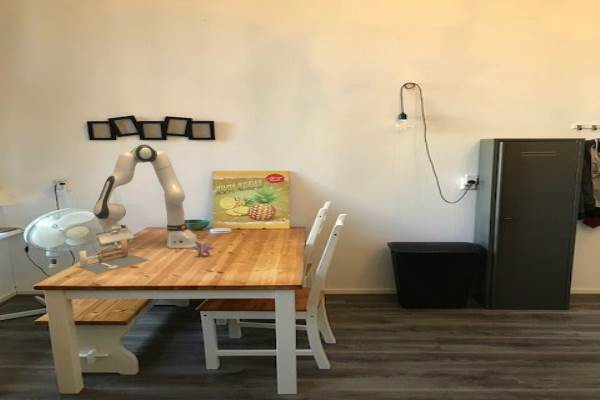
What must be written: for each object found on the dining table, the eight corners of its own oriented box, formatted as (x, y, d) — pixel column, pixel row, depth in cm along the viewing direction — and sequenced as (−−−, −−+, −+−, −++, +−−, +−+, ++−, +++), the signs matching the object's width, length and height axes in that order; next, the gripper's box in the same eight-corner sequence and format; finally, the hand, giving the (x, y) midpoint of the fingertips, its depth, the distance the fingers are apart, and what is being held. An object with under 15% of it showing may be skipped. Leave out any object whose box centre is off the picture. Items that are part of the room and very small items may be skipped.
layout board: (150, 260, 217) (150, 259, 217) (97, 274, 194) (97, 273, 194) (130, 255, 230) (130, 254, 230) (78, 267, 207) (78, 266, 207)
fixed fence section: (103, 262, 213) (102, 248, 212) (82, 267, 204) (80, 252, 203) (101, 261, 215) (99, 247, 214) (79, 266, 206) (78, 251, 205)
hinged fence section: (128, 255, 225) (127, 239, 224) (104, 261, 214) (102, 244, 212) (126, 255, 227) (124, 238, 226) (101, 260, 216) (100, 243, 214)
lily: (217, 258, 224) (216, 242, 227) (202, 255, 214) (202, 238, 218) (202, 262, 229) (202, 247, 233) (187, 259, 220) (187, 243, 223)
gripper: (95, 230, 222) (104, 249, 217) (129, 224, 237) (138, 242, 232) (93, 237, 225) (101, 255, 220) (126, 231, 241) (135, 248, 236)
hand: (120, 248), depth 226 cm, fingers closed
